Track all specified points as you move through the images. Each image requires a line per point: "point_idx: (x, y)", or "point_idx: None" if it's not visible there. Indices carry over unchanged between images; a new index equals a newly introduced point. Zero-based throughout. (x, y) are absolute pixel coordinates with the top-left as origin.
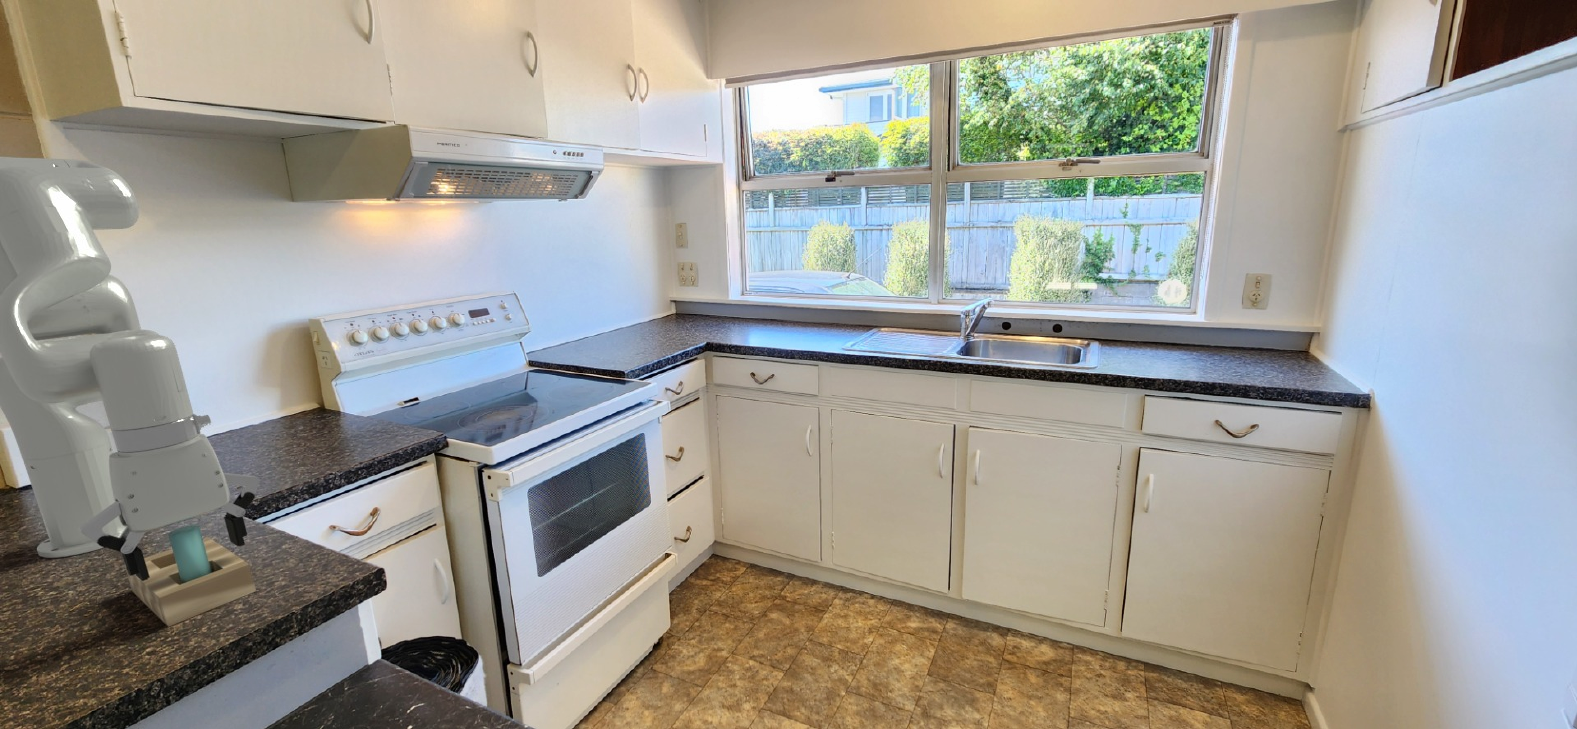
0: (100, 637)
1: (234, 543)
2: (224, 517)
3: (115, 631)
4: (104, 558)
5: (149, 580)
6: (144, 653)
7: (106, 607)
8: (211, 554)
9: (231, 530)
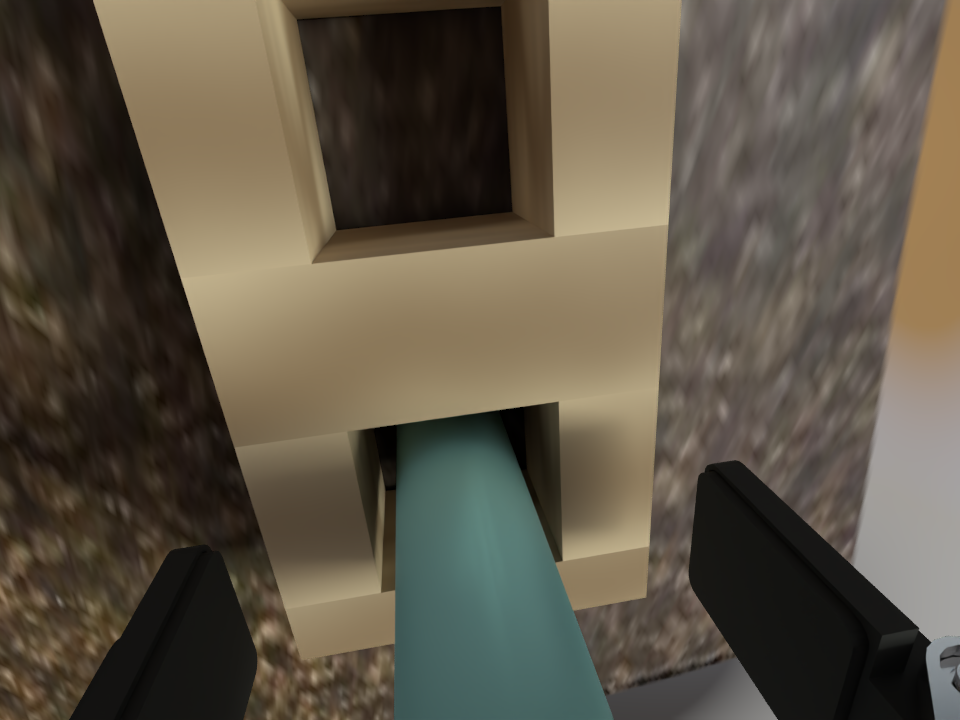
0: (95, 416)
1: (696, 540)
2: (847, 645)
3: (146, 408)
4: None
5: (255, 413)
6: (257, 645)
7: (46, 32)
8: (583, 302)
9: (756, 628)
